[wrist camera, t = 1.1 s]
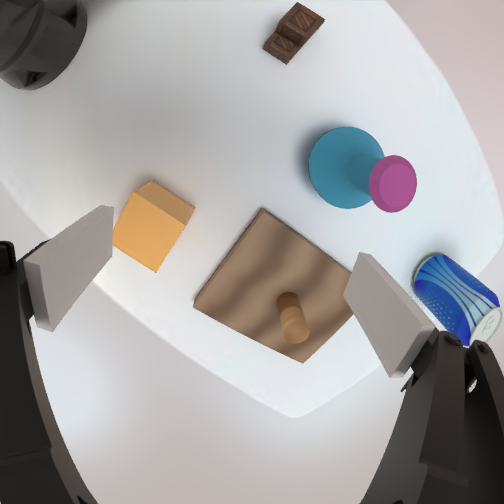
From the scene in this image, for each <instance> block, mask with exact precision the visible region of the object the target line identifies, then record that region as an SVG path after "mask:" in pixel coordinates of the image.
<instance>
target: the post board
mask: <svg viewBox="0 0 504 504" xmlns="http://www.w3.org/2000/svg"><path fill="white" fill-rule="evenodd" d="M350 276H351V272H350V271H349V270H347V269H346V268H345V267H343V266H342V265H341V264H339V263H338V262H337V261H335V260H334V259H333V258H331V257H330V256H329V255H327V254H326V253H325V252H323V251H322V250H321V249H319V248H318V247H317V246H315V245H314V244H313V243H311V242H310V241H309V240H307V239H306V238H304V237H303V236H302V235H300V234H299V233H298V232H296V231H295V230H293V229H292V228H291V227H289V226H288V225H286V224H285V223H284V222H282V221H281V220H279V219H278V218H277V217H275V216H274V215H272V214H271V213H269V212H268V211H267V210H265V209H264V208H262V209H261V210H260V212H259V213H258V214H257V216H256V217H255V218H254V220H253V221H252V222H251V224H250V225H249V226H248V228H247V229H246V230H245V232H244V233H243V234H242V236H241V237H240V238H239V240H238V241H237V242H236V244H235V245H234V246H233V248H232V249H231V250H230V252H229V253H228V255H227V256H226V257H225V259H224V260H223V261H222V263H221V264H220V265H219V267H218V268H217V269H216V271H215V272H214V274H213V275H212V276H211V278H210V279H209V280H208V282H207V283H206V284H205V286H204V287H203V289H202V290H201V291H200V293H199V294H198V295H197V297H196V298H195V300H194V304H193V308H195V309H197V310H199V311H200V312H202V313H204V314H206V315H208V316H209V317H211V318H213V319H215V320H217V321H219V322H220V323H222V324H224V325H226V326H228V327H230V328H232V329H234V330H236V331H237V332H239V333H241V334H243V335H245V336H247V337H249V338H251V339H253V340H255V341H257V342H259V343H261V344H263V345H265V346H267V347H269V348H271V349H273V350H275V351H277V352H279V353H281V354H284V355H286V356H288V357H290V358H292V359H294V360H296V361H298V362H301V363H304V362H305V361H306V360H307V359H308V358H310V357H311V356H312V355H313V354H314V353H315V352H316V351H317V350H318V349H319V348H320V347H321V346H322V345H323V344H324V343H325V342H326V341H327V340H328V339H330V338H331V337H332V336H333V335H334V334H335V333H336V332H337V331H338V330H339V329H340V328H341V327H342V326H343V325H344V324H345V322H346V321H347V320H348V319H349V318H350V317H351V316H352V315H353V314H354V313H353V311H352V310H351V308H350V306H349V305H348V303H347V301H346V300H345V298H344V296H343V293H344V291H345V288H346V286H347V283H348V281H349V278H350Z"/></svg>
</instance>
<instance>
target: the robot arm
mask: <svg viewBox="0 0 504 504" xmlns="http://www.w3.org/2000/svg"><path fill="white" fill-rule="evenodd" d="M86 26H87V15H86V11H85V8H84V7H83V5H82V4H81V3H79V2H78V1H77V0H0V78H1V79H3V80H4V81H5V82H7V83H8V84H10V85H11V86H13V87H15V88H18V89H27V90H32V89H37V88H40V87H42V86H44V85H46V84H48V83H49V82H51V81H52V80H53V79H55V78H56V77H57V76H58V75H59V74H60V73H61V72H62V71H63V70H64V69H65V68H66V67H67V65H68V64H69V63H70V62H71V60H72V59H73V57H74V56H75V54H76V52H77V51H78V49H79V47H80V45H81V42H82V40H83V37H84V34H85V31H86ZM113 212H114V207H109V206H103V205H100V206H99V207H97V208H96V209H94V210H93V211H91V212H90V213H88V214H87V215H85V216H84V217H82V218H81V219H79V220H78V221H76V222H75V223H73V224H72V225H70V226H69V227H67V228H66V229H65V230H63V231H62V232H60V233H59V234H58V235H56V236H55V237H53V238H52V239H50V240H47V241H44V242H42V243H40V244H39V245H38V246H36V247H35V249H32V250H31V251H30V252H29V253H27V254H26V255H25V256H23V257H22V258H21V259H19V260H18V261H17V262H16V257H15V250H14V245H13V243H11V242H9V241H0V502H1V504H98V503H97V501H96V500H95V499H94V497H93V496H92V494H91V493H90V492H89V490H88V489H87V487H86V485H85V483H84V482H83V480H82V478H81V476H80V474H79V472H78V470H77V469H76V466H75V464H74V462H73V460H72V458H71V456H70V454H69V452H68V449H67V447H66V445H65V443H64V440H63V438H62V435H61V433H60V431H59V428H58V425H57V423H56V420H55V417H54V415H53V412H52V409H51V406H50V403H49V400H48V397H47V393H46V390H45V387H44V384H43V380H42V377H41V373H40V369H39V365H38V361H37V357H36V352H35V347H34V342H33V337H32V332H31V327H30V323H29V319H30V318H31V317H32V316H33V315H34V317H35V320H36V324H37V327H39V328H42V329H45V330H47V331H50V332H53V331H54V330H55V328H56V327H57V325H58V324H59V323H60V321H61V320H62V318H63V317H64V316H65V314H66V313H67V312H68V310H69V309H70V308H71V306H72V305H73V304H74V302H75V301H76V300H77V298H78V297H79V296H80V295H81V293H82V292H83V291H84V290H85V288H86V287H87V286H88V284H89V283H90V282H91V281H92V280H93V278H94V277H95V276H96V275H97V274H98V272H99V271H100V270H101V269H102V268H103V266H104V265H105V264H106V263H107V262H108V260H109V259H110V258H111V257H112V236H113ZM343 296H344V298H345V300H346V301H347V303H348V305H349V306H350V308H351V310H352V311H353V313H354V315H355V317H356V318H357V320H358V322H359V323H360V325H361V327H362V329H363V330H364V332H365V334H366V336H367V337H368V339H369V341H370V343H371V345H372V346H373V348H374V350H375V352H376V354H377V355H378V357H379V359H380V361H381V363H382V365H383V366H384V368H385V370H386V372H387V374H388V376H389V377H390V378H399V377H403V376H404V375H405V373H406V372H407V371H408V369H409V368H410V366H411V368H412V370H413V371H414V373H413V374H412V376H411V377H410V378H409V380H408V381H407V382H406V384H405V385H404V387H403V388H402V389H401V392H403V391H404V389H406V392H405V396H404V399H403V403H402V406H401V409H400V412H399V415H398V418H397V421H396V424H395V427H394V429H393V433H392V435H391V438H390V440H389V443H388V445H387V448H386V451H385V453H384V455H383V458H382V460H381V462H380V465H379V467H378V469H377V471H376V474H375V476H374V478H373V480H372V482H371V484H370V486H369V488H368V490H367V492H366V494H365V496H364V498H363V500H362V501H361V503H360V504H504V376H503V374H502V371H501V369H500V367H499V365H498V362H497V360H496V358H495V356H494V353H493V351H492V350H491V348H490V347H489V346H488V344H487V343H485V342H484V341H483V342H482V341H480V340H474V341H473V343H472V344H471V346H470V347H469V348H465V347H463V344H462V342H461V340H460V339H459V338H458V337H457V336H456V335H454V334H453V333H450V332H448V331H440V332H439V330H438V329H437V328H436V327H435V325H434V324H433V322H432V321H431V320H430V319H429V318H428V316H427V315H426V314H425V313H424V312H423V311H422V310H421V308H420V307H419V306H418V305H417V304H416V303H415V302H414V300H413V299H412V298H411V297H410V296H409V295H408V294H407V293H406V292H405V290H404V289H403V288H402V287H401V286H400V285H399V284H398V283H397V282H396V281H395V280H394V278H393V277H392V276H391V275H390V274H389V273H388V272H387V271H386V270H385V269H384V268H383V267H382V266H381V265H380V264H379V263H378V262H377V261H376V260H375V259H374V258H373V257H372V255H370V254H365V253H360V252H359V255H358V257H357V260H356V263H355V265H354V268H353V271H352V273H351V276H350V278H349V281H348V283H347V286H346V288H345V291H344V293H343ZM476 379H477V382H476V386H475V388H474V389H473V390H472V392H469V388H470V387H471V385H472V384H473V383H474V382H475V380H476Z"/></svg>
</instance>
